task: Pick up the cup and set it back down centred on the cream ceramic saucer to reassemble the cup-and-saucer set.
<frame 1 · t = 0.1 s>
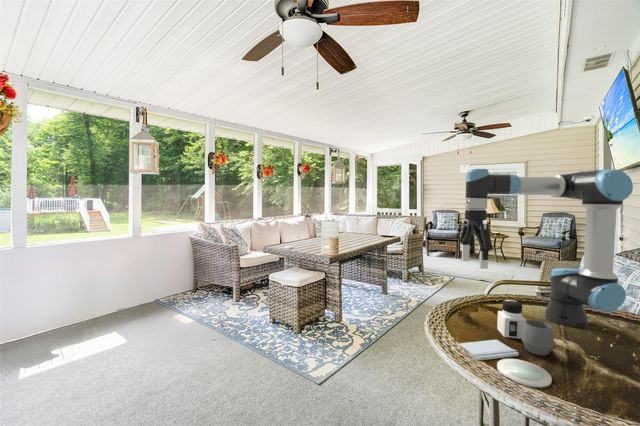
hand: (473, 264, 120), 28 cm above the table, fingers open, 13 cm apart
container: (511, 334, 123), on the table
cup: (536, 352, 109), on the table
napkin: (487, 350, 109), on the table
saucer: (523, 373, 95), on the table
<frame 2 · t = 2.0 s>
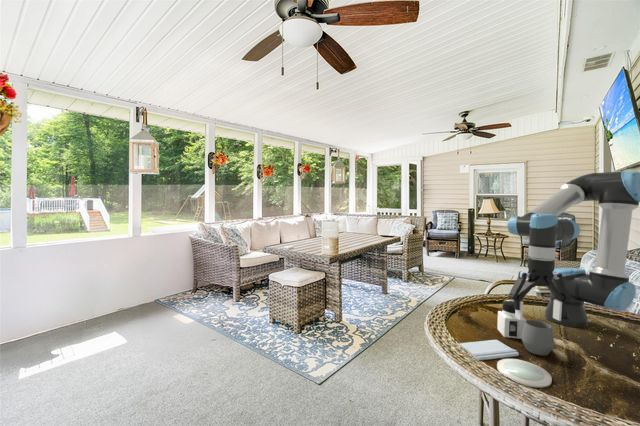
hand: (537, 319, 108), 12 cm above the table, fingers open, 13 cm apart
nothing on the table moved.
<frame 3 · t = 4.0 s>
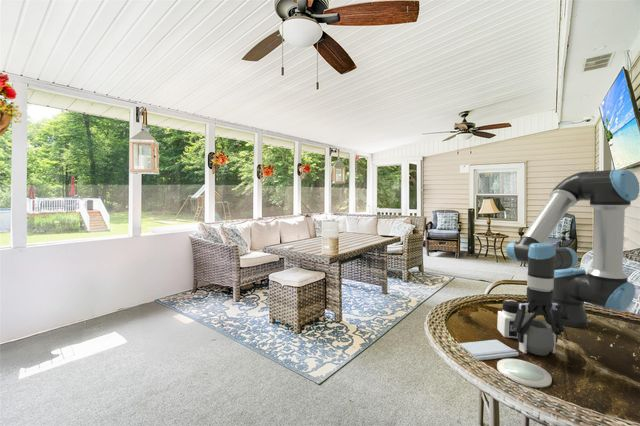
hand: (536, 351, 109), 0 cm above the table, fingers closed on cup, 9 cm apart
cup: (536, 352, 109), on the table, touching gripper
everything else where it was.
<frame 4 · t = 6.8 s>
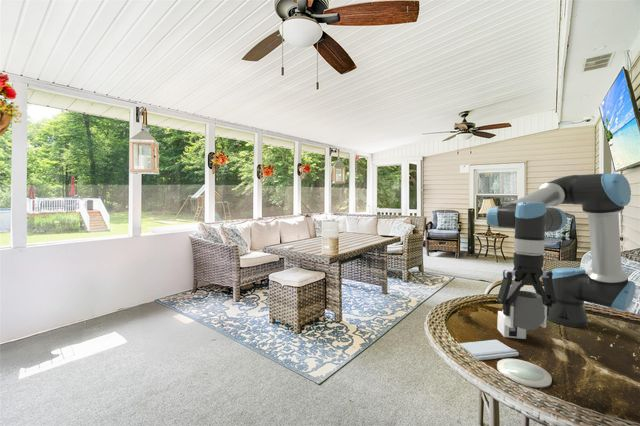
hand: (525, 325, 94), 15 cm above the table, fingers closed on cup, 9 cm apart
cup: (525, 327, 94), point 15 cm above the table, touching gripper
everything else where it was.
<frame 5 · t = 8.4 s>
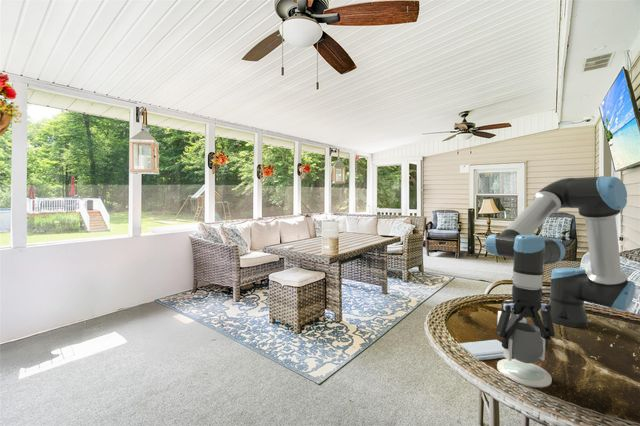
hand: (523, 358, 95), 5 cm above the table, fingers closed on cup, 9 cm apart
cup: (523, 359, 95), point 4 cm above the table, touching gripper
everything else where it was.
when the fingers open (3 cm above the table, at t = 9.8 s): cup drops 2 cm, resting on saucer.
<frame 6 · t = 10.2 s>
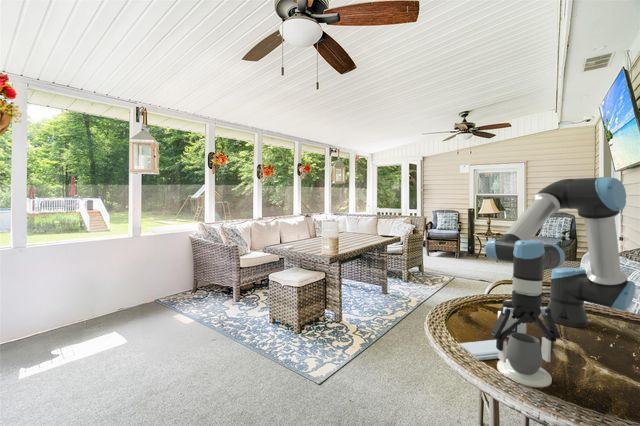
hand: (523, 360, 95), 4 cm above the table, fingers open, 13 cm apart
cup: (523, 370, 95), point 1 cm above the table, touching saucer
everything else where it was.
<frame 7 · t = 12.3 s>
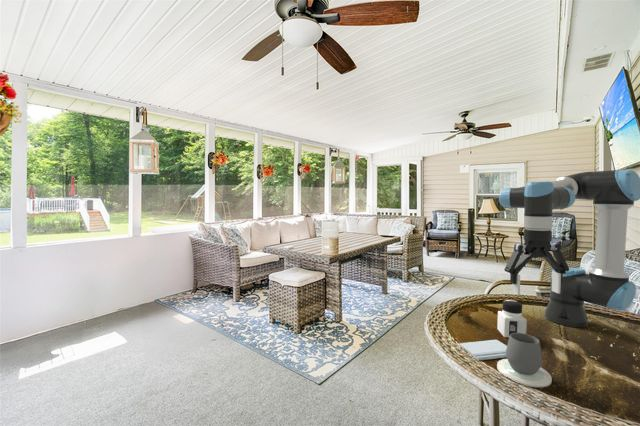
hand: (535, 292, 102), 22 cm above the table, fingers open, 13 cm apart
nothing on the table moved.
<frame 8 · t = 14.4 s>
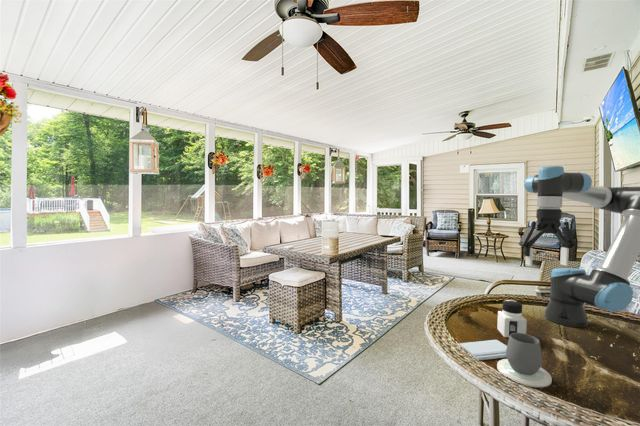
hand: (546, 265, 116), 29 cm above the table, fingers open, 13 cm apart
nothing on the table moved.
at the end: cup 0.1 cm off-centre on the saucer, point 0.9 cm above the saucer's base; cup tilted 0°; the gripper is holding nothing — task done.
